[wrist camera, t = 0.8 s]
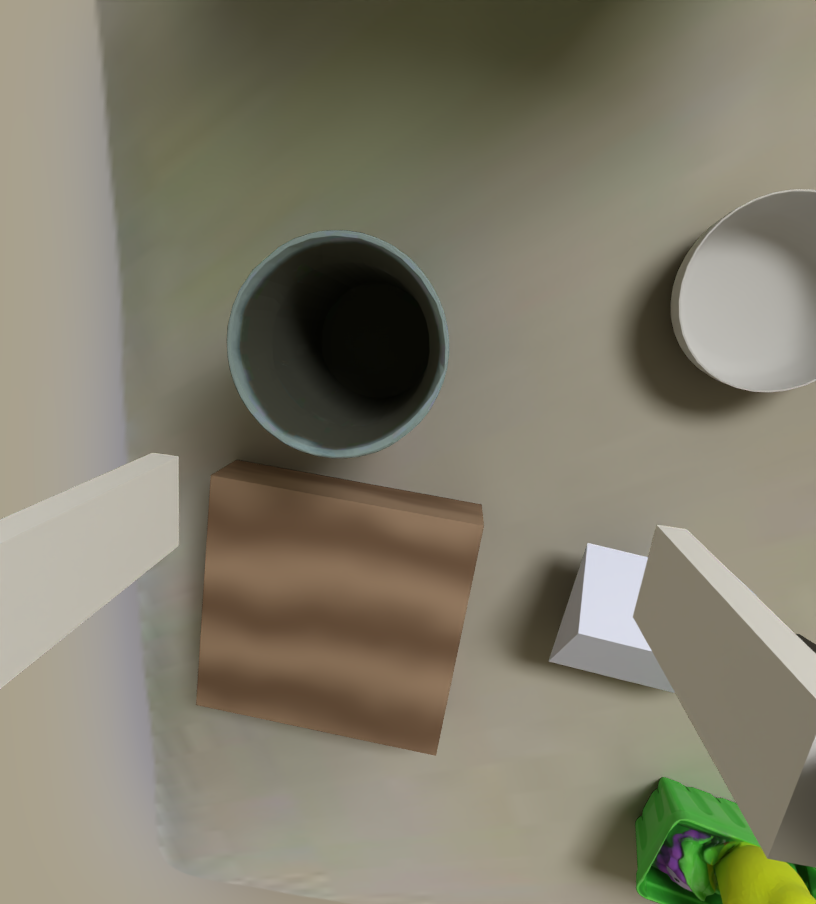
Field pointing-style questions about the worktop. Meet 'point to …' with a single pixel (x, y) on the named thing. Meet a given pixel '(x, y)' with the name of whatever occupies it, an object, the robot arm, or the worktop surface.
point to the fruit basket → (709, 854)
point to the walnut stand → (334, 603)
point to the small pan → (752, 295)
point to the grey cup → (338, 344)
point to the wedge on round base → (607, 620)
